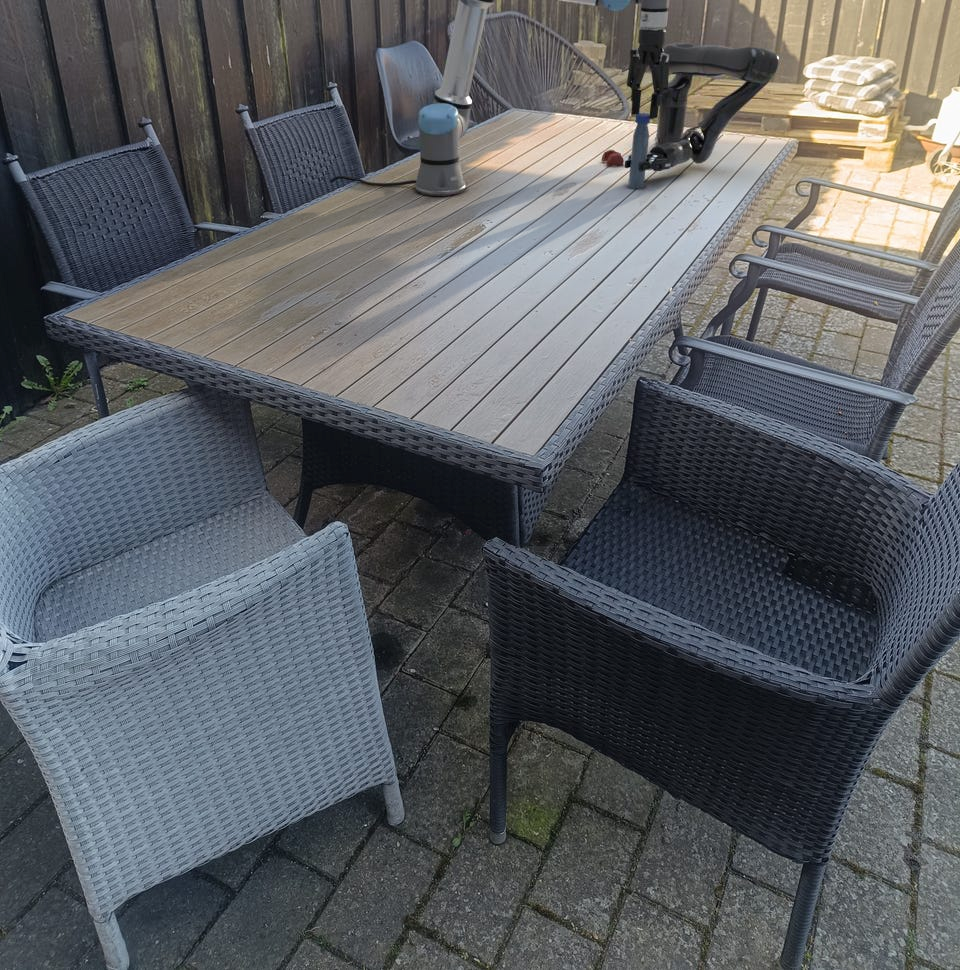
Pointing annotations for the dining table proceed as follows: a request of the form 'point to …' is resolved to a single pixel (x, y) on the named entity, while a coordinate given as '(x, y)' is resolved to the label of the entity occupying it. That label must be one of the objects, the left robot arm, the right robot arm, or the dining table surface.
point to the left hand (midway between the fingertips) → (644, 115)
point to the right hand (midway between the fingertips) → (632, 166)
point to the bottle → (638, 156)
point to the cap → (642, 118)
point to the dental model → (612, 158)
